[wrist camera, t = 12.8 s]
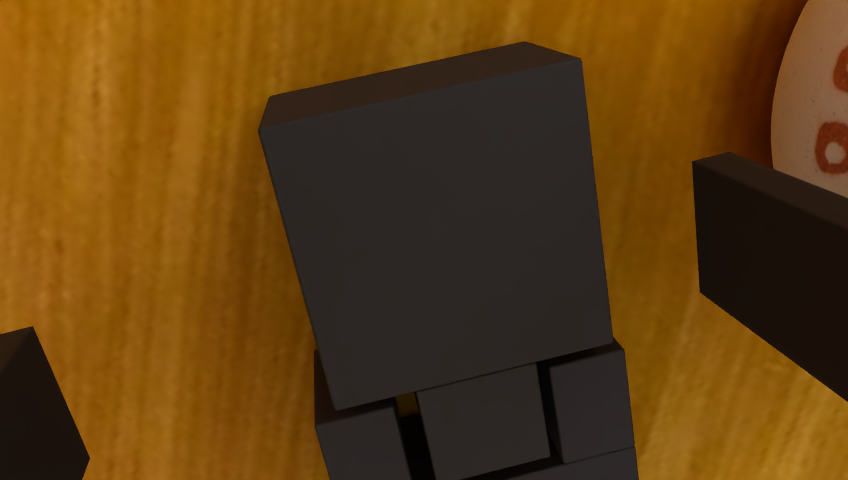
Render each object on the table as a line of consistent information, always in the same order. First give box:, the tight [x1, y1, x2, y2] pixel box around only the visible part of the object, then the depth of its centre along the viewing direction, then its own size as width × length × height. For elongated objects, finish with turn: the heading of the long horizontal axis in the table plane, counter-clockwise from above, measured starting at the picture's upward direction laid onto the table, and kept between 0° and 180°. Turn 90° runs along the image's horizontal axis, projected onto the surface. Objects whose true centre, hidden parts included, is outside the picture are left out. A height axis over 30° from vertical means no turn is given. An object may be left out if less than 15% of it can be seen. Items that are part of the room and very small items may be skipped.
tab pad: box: [258, 42, 613, 480], centre depth 19 cm, size 7×10×4 cm
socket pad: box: [314, 337, 639, 480], centre depth 22 cm, size 8×8×4 cm
